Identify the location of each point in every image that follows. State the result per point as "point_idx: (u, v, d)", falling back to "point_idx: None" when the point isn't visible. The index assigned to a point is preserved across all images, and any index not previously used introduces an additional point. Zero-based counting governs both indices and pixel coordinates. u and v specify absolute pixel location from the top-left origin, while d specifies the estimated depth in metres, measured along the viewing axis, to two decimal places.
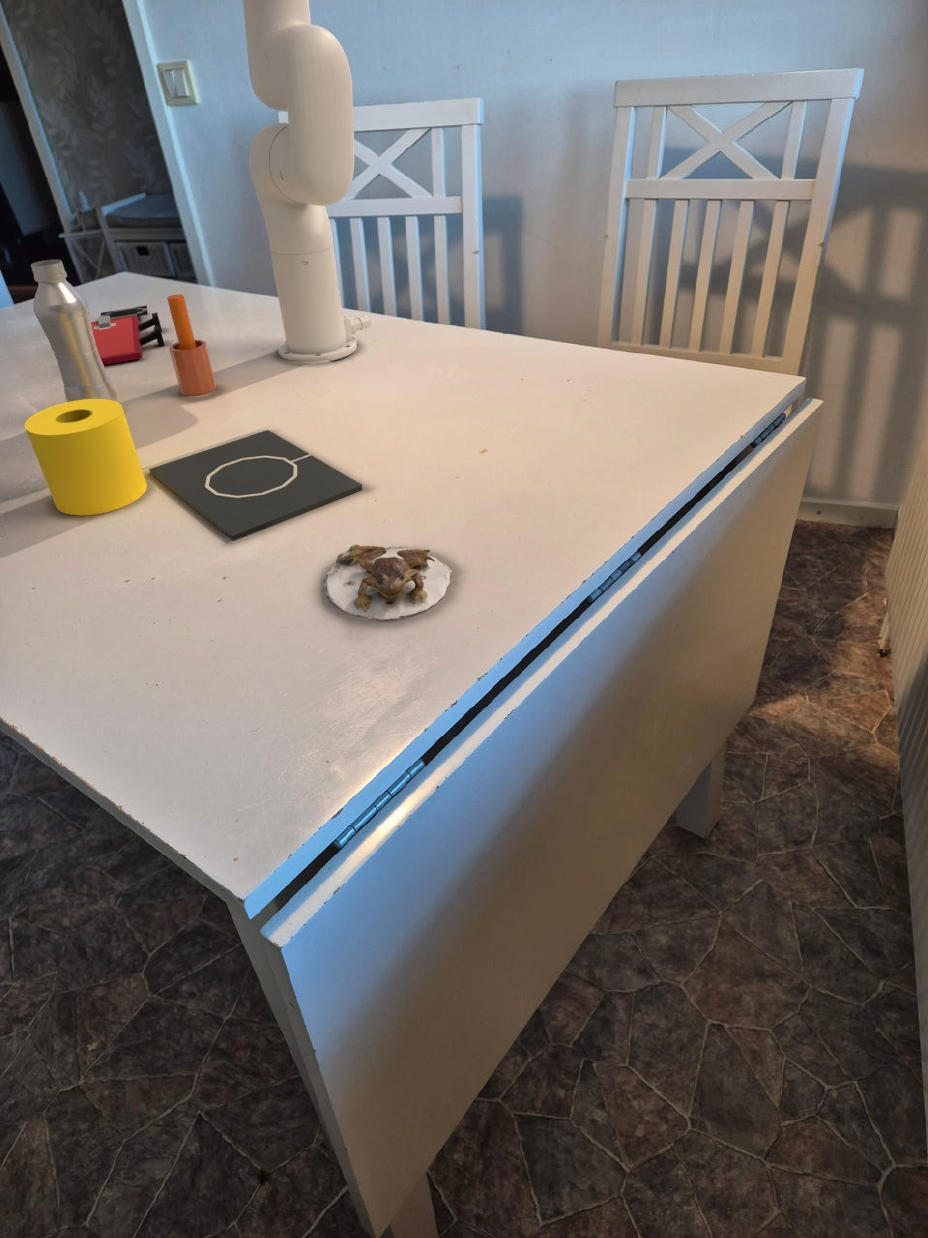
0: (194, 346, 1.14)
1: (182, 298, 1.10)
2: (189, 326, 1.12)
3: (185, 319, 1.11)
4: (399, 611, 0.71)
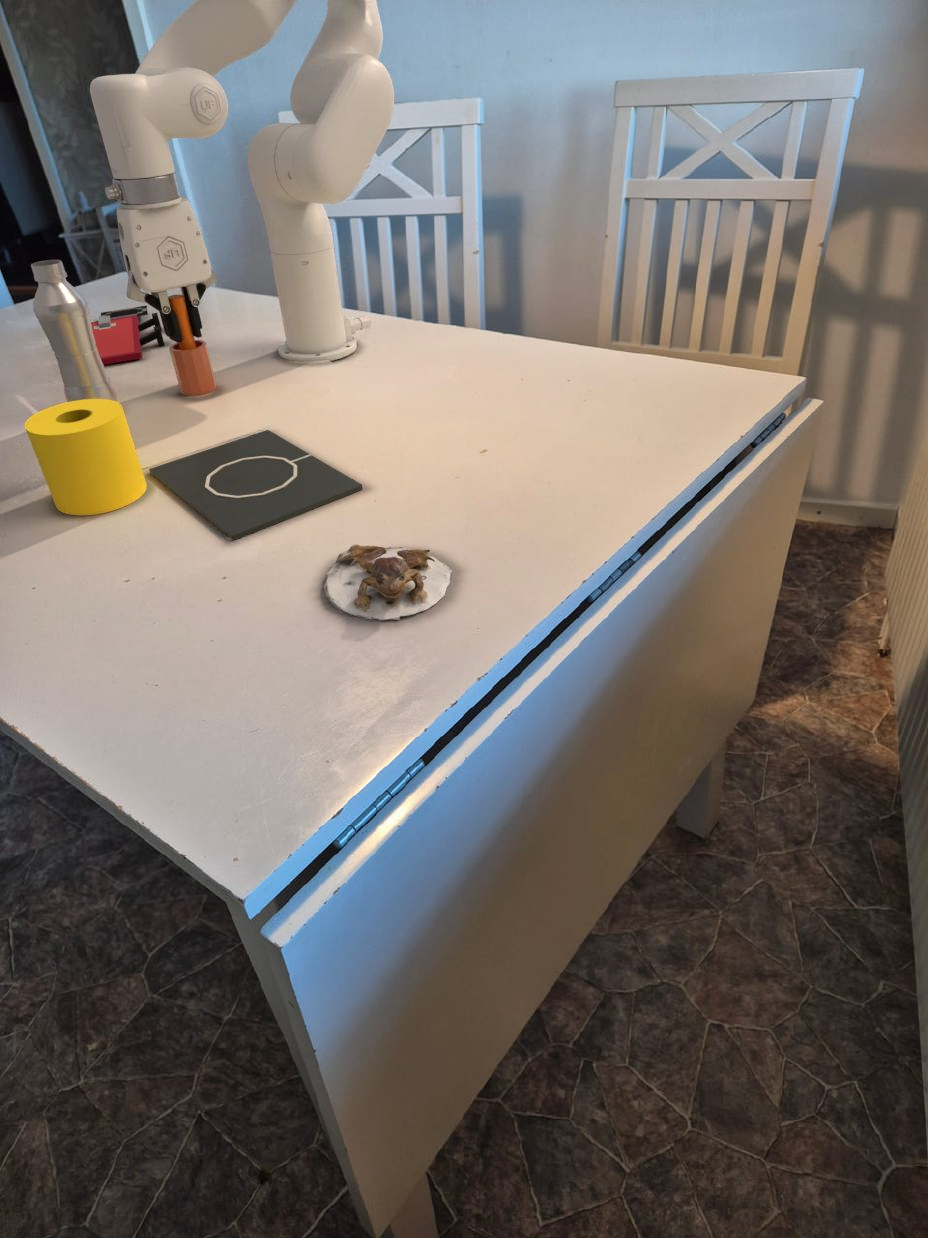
0: (194, 346, 1.14)
1: (182, 298, 1.10)
2: (189, 326, 1.12)
3: (185, 319, 1.11)
4: (399, 611, 0.71)
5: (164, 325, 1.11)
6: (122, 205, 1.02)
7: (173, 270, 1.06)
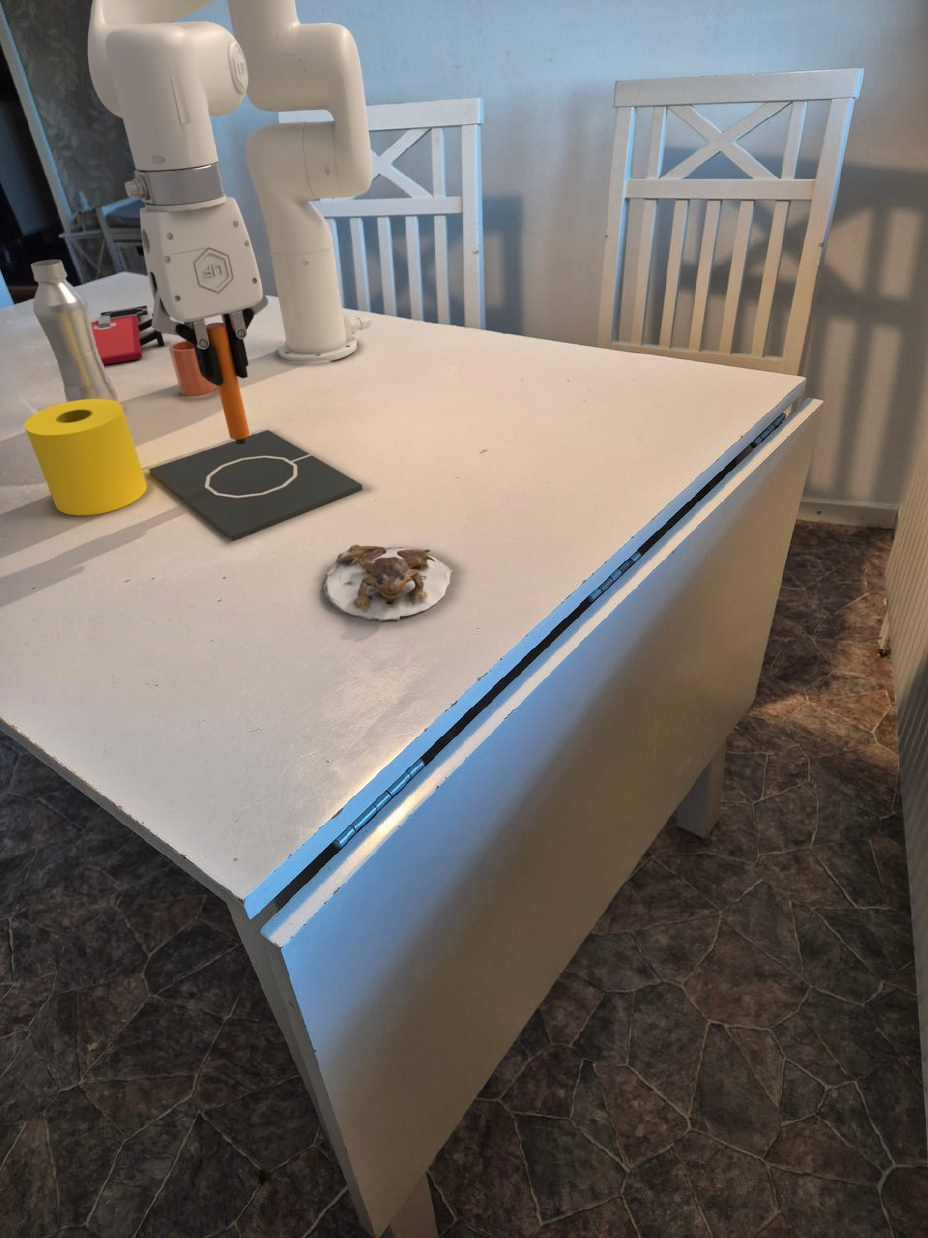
0: (237, 389, 0.88)
1: (224, 328, 0.84)
2: (232, 364, 0.86)
3: (227, 355, 0.85)
4: (399, 611, 0.71)
5: (200, 363, 0.85)
6: (147, 206, 0.75)
7: (214, 292, 0.80)
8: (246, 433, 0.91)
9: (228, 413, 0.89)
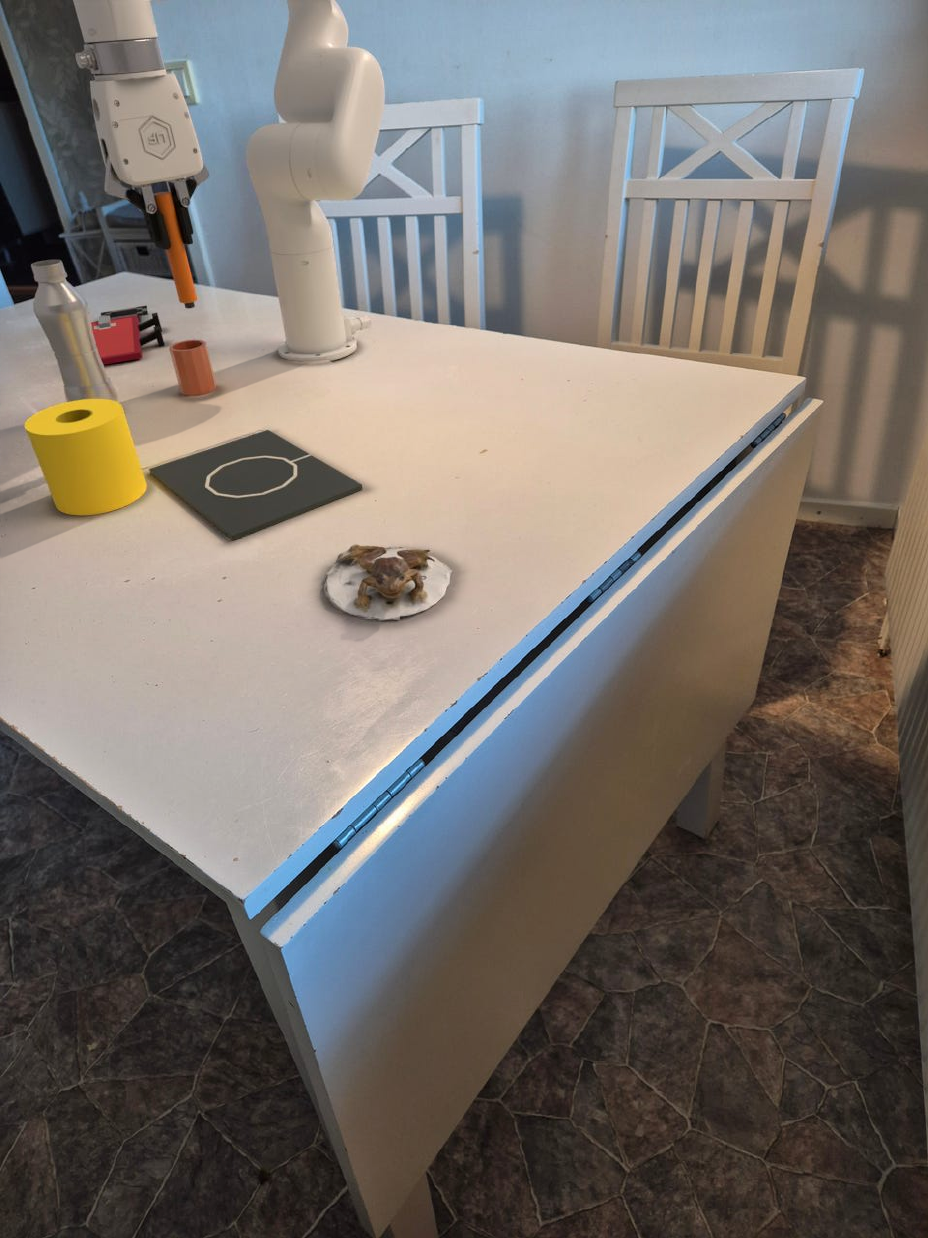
0: (184, 254, 0.99)
1: (169, 195, 0.95)
2: (178, 230, 0.97)
3: (173, 221, 0.96)
4: (399, 611, 0.71)
5: (149, 228, 0.96)
6: (96, 77, 0.86)
7: (158, 159, 0.91)
8: (194, 297, 1.02)
9: (177, 277, 1.00)
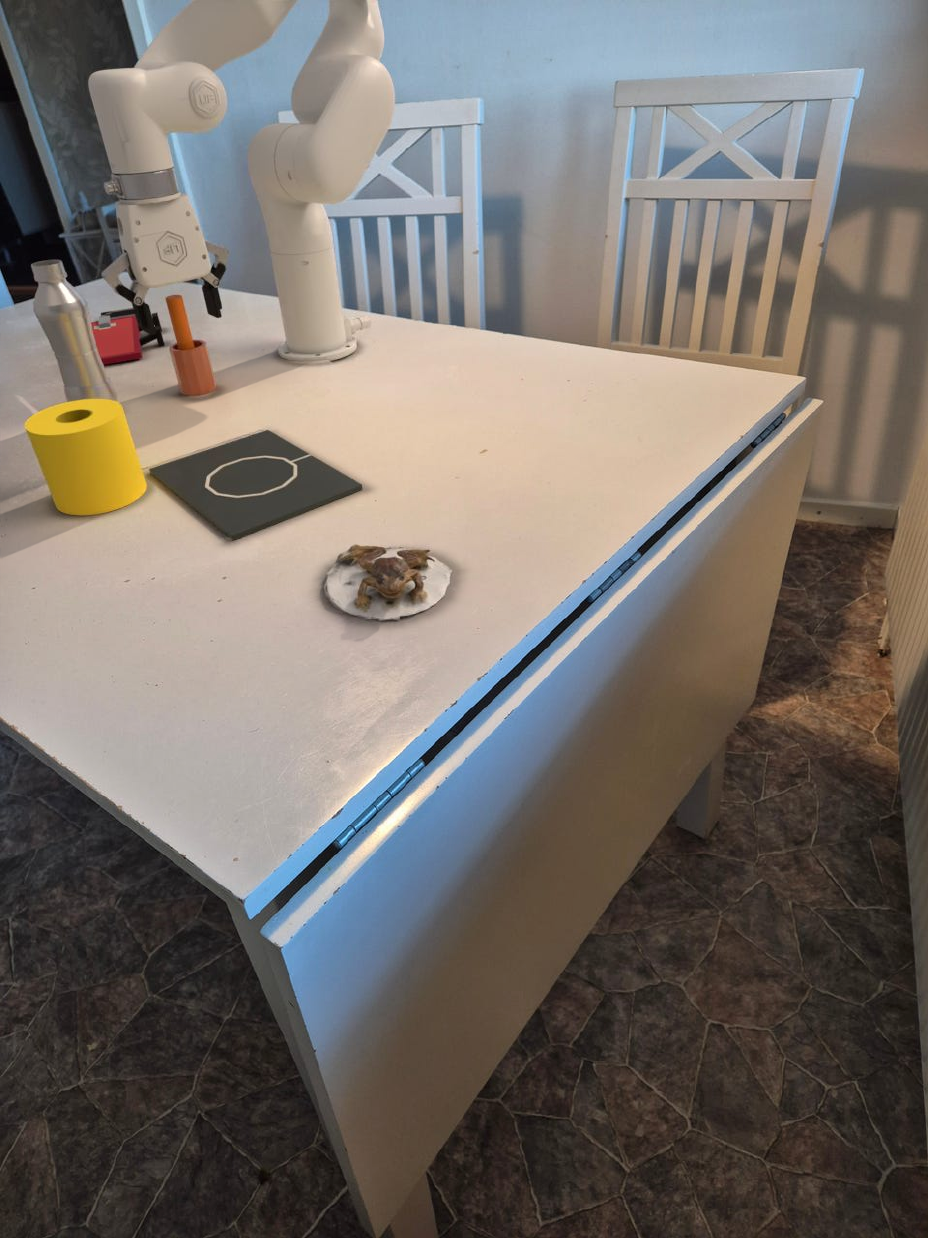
0: (192, 346, 1.14)
1: (180, 298, 1.10)
2: (187, 326, 1.12)
3: (183, 319, 1.11)
4: (399, 611, 0.71)
5: (137, 317, 1.08)
6: (121, 200, 1.01)
7: (172, 265, 1.06)
8: None
9: None
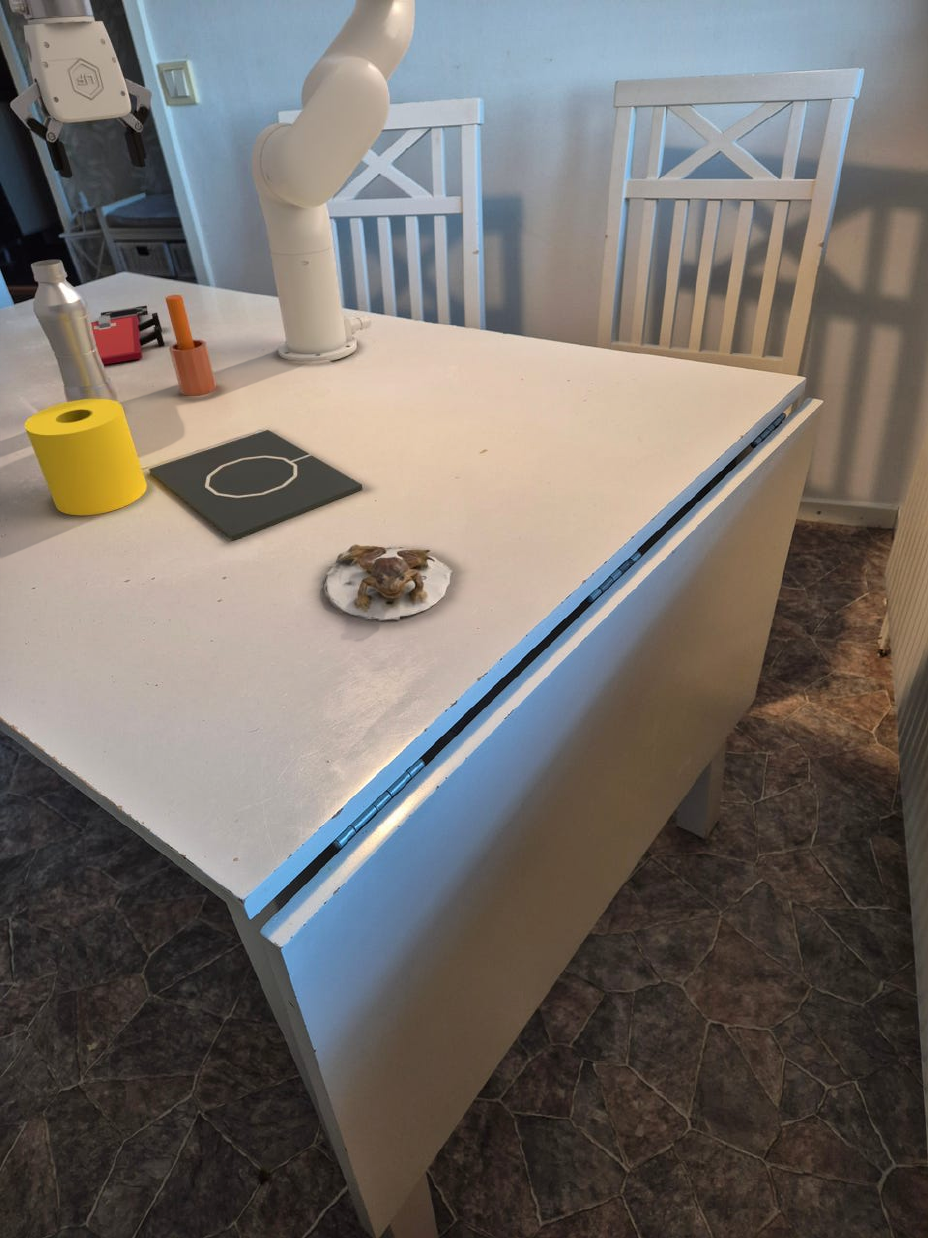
0: (192, 346, 1.14)
1: (180, 298, 1.10)
2: (187, 326, 1.12)
3: (183, 319, 1.11)
4: (399, 611, 0.71)
5: (52, 157, 1.02)
6: (29, 21, 0.95)
7: (87, 98, 1.00)
8: None
9: None
